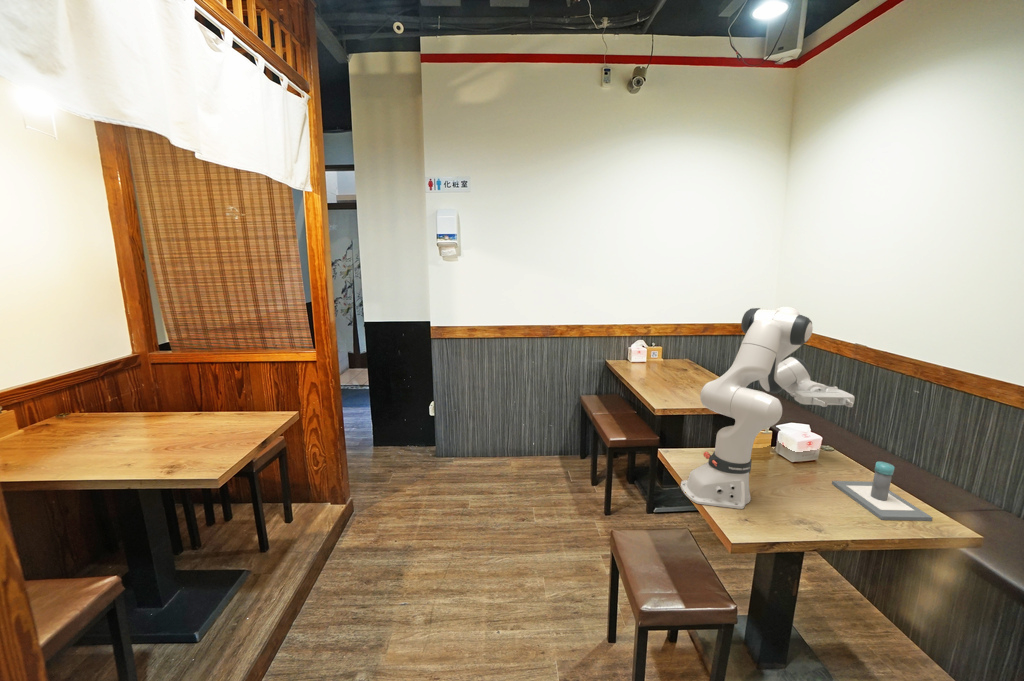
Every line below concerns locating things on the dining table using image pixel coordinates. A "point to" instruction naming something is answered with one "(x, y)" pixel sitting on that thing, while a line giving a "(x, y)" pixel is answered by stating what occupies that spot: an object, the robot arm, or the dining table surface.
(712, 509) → the dining table surface
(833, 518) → the dining table surface
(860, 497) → the writing board
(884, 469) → the marker
